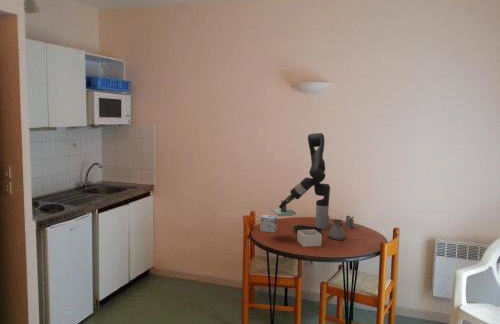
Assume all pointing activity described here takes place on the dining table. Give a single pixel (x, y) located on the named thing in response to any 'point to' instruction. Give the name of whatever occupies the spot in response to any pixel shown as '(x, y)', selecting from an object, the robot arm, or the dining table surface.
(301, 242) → the tub
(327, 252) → the dining table surface
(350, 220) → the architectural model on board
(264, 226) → the light bulb box
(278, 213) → the lid
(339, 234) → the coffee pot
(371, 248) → the dining table surface
